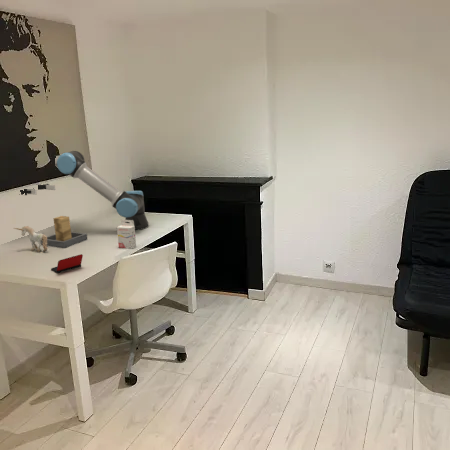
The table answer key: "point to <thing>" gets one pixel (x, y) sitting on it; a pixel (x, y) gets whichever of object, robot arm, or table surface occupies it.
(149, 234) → the table surface
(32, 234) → the unicorn figurine
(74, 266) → the handheld game console
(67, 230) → the ochre block
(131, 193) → the robot arm
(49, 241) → the tray
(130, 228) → the ink cartridge box
